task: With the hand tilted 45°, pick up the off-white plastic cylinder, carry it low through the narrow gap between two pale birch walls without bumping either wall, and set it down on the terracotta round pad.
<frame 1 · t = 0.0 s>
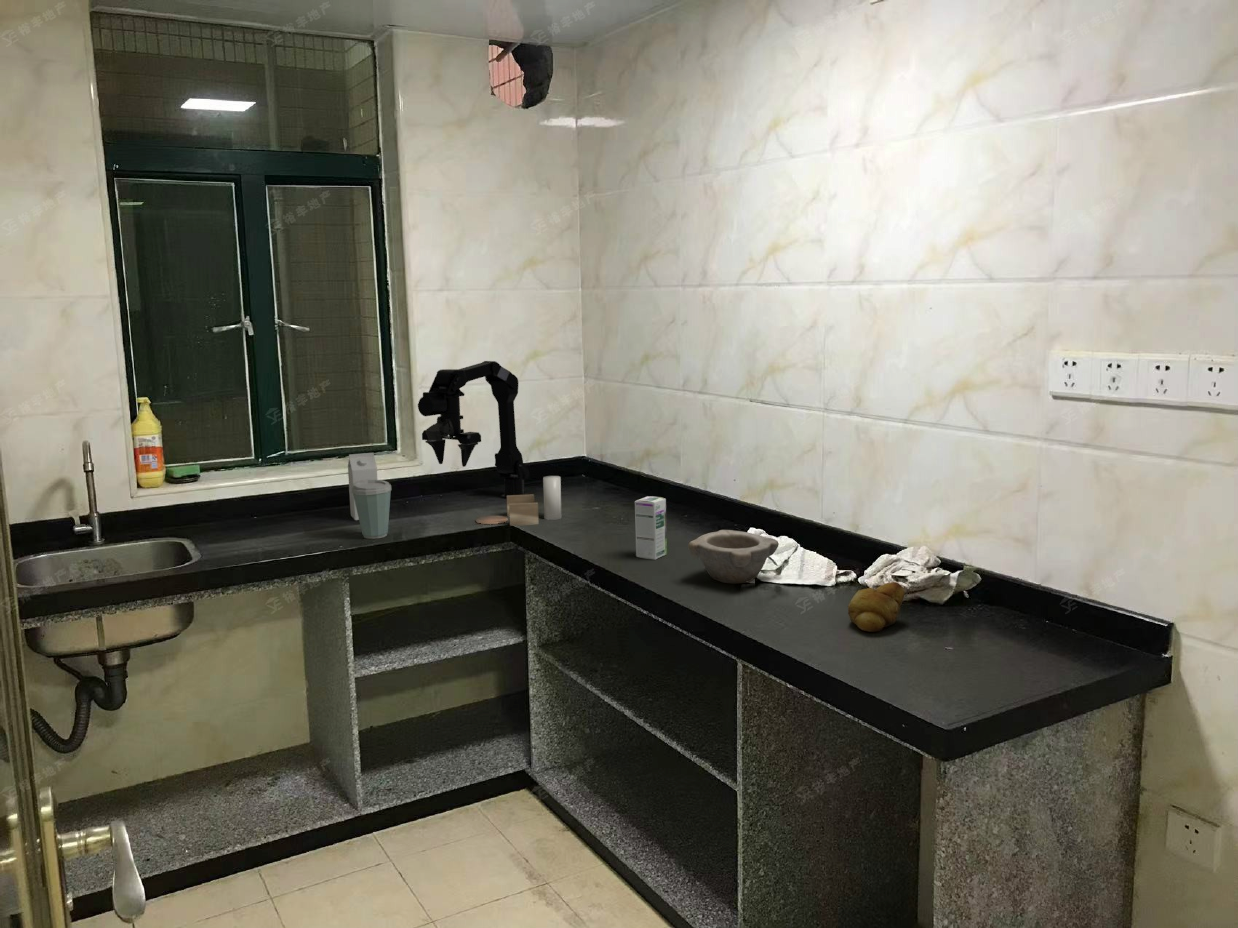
hand: (452, 465, 289), 15 cm above the worktop, tool pointing down, fingers open, 9 cm apart
outer gate wall: (524, 524, 277), on the worktop
disposable coffee cup: (374, 537, 265), on the worktop
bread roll: (871, 625, 191), on the worktop
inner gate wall: (521, 515, 288), on the worktop
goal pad: (492, 521, 281), on the worktop
mortar: (732, 579, 222), on the worktop
white cylinder: (552, 517, 284), on the worktop
syrup box: (651, 556, 242), on the worktop
milk carton: (365, 517, 288), on the worktop
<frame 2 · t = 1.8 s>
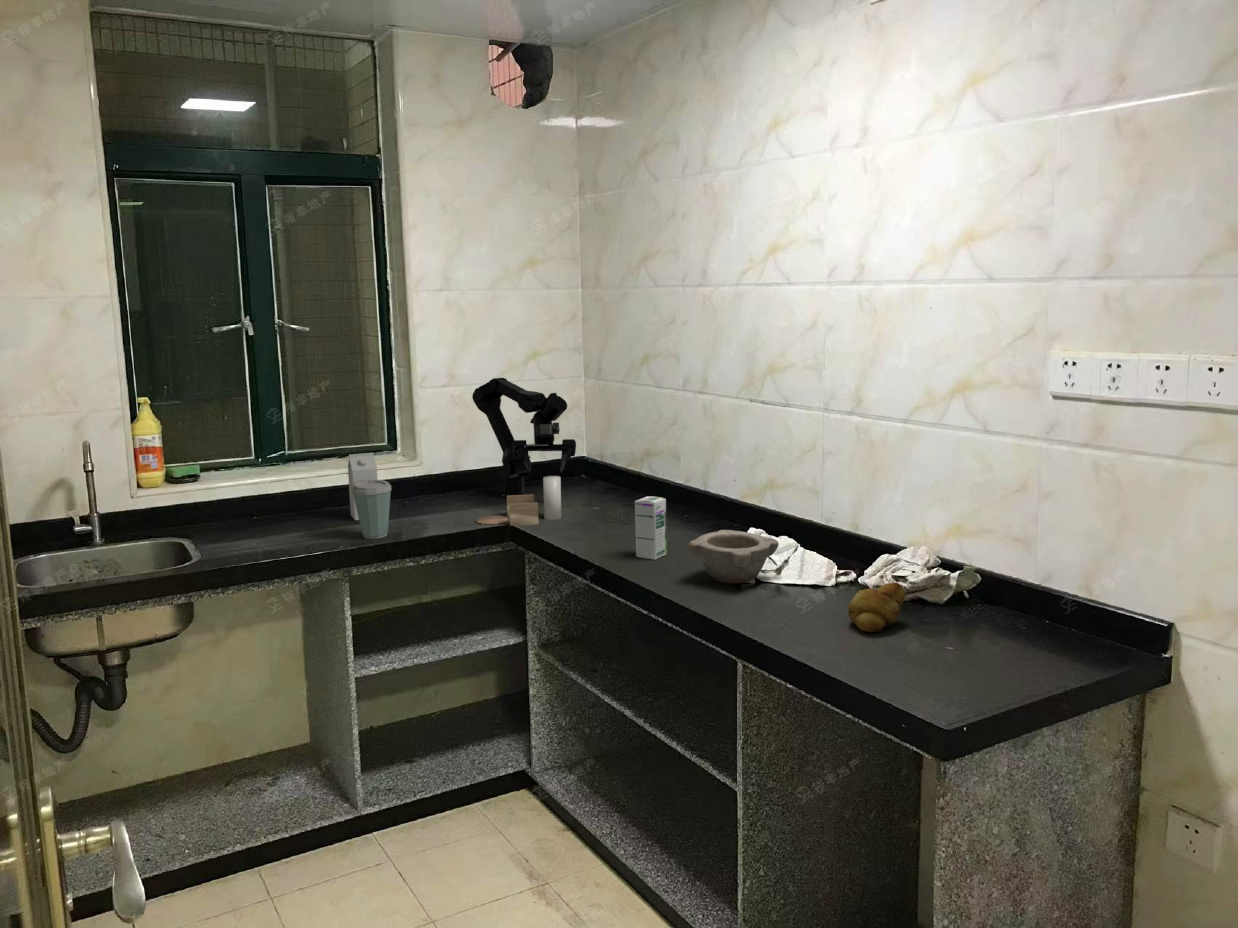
hand: (545, 471, 289), 12 cm above the worktop, tool tilted 45°, fingers open, 9 cm apart
nothing on the worktop moved.
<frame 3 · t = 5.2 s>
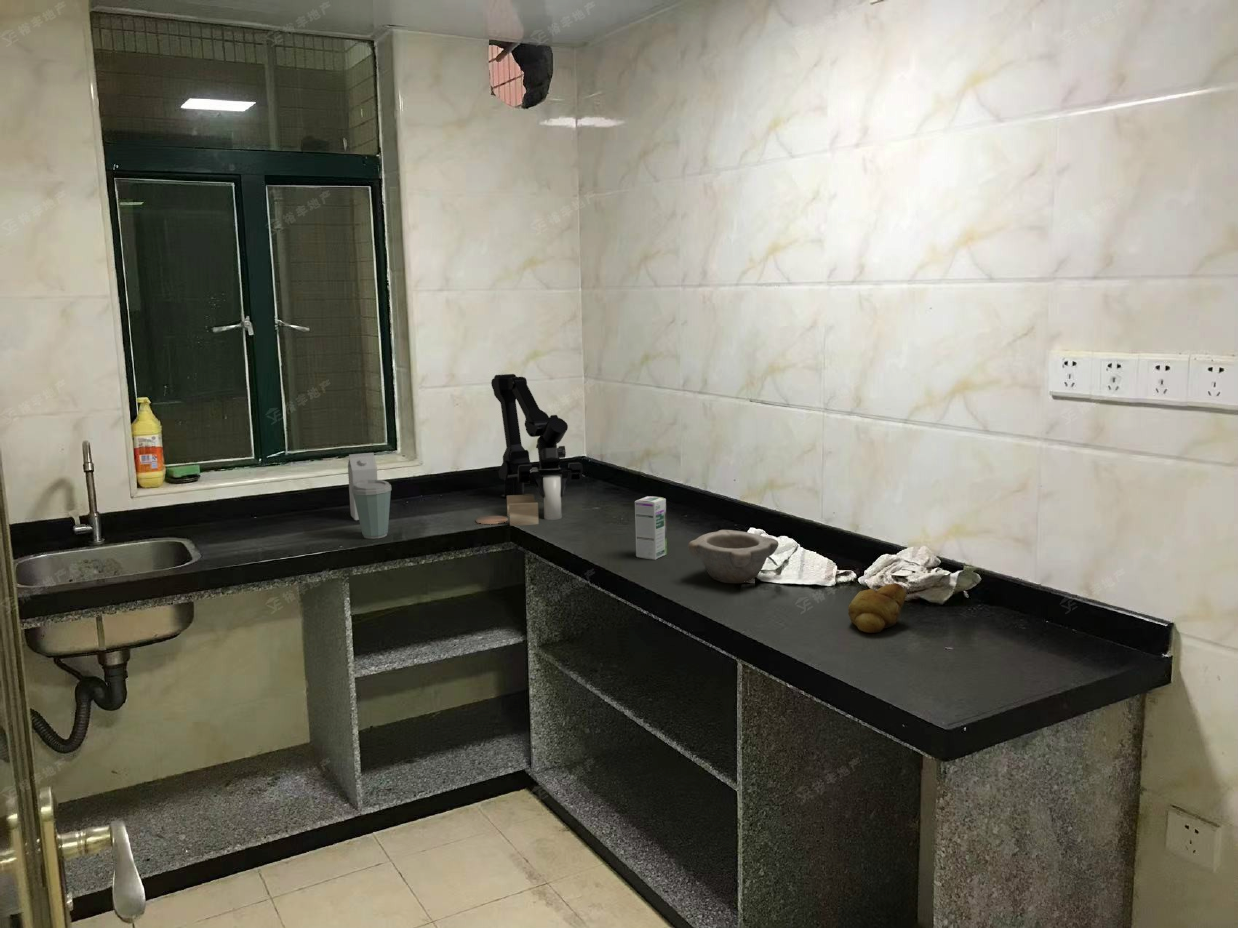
hand: (552, 496, 282), 7 cm above the worktop, tool tilted 45°, fingers closed on white cylinder, 5 cm apart
white cylinder: (552, 517, 284), on the worktop, touching gripper
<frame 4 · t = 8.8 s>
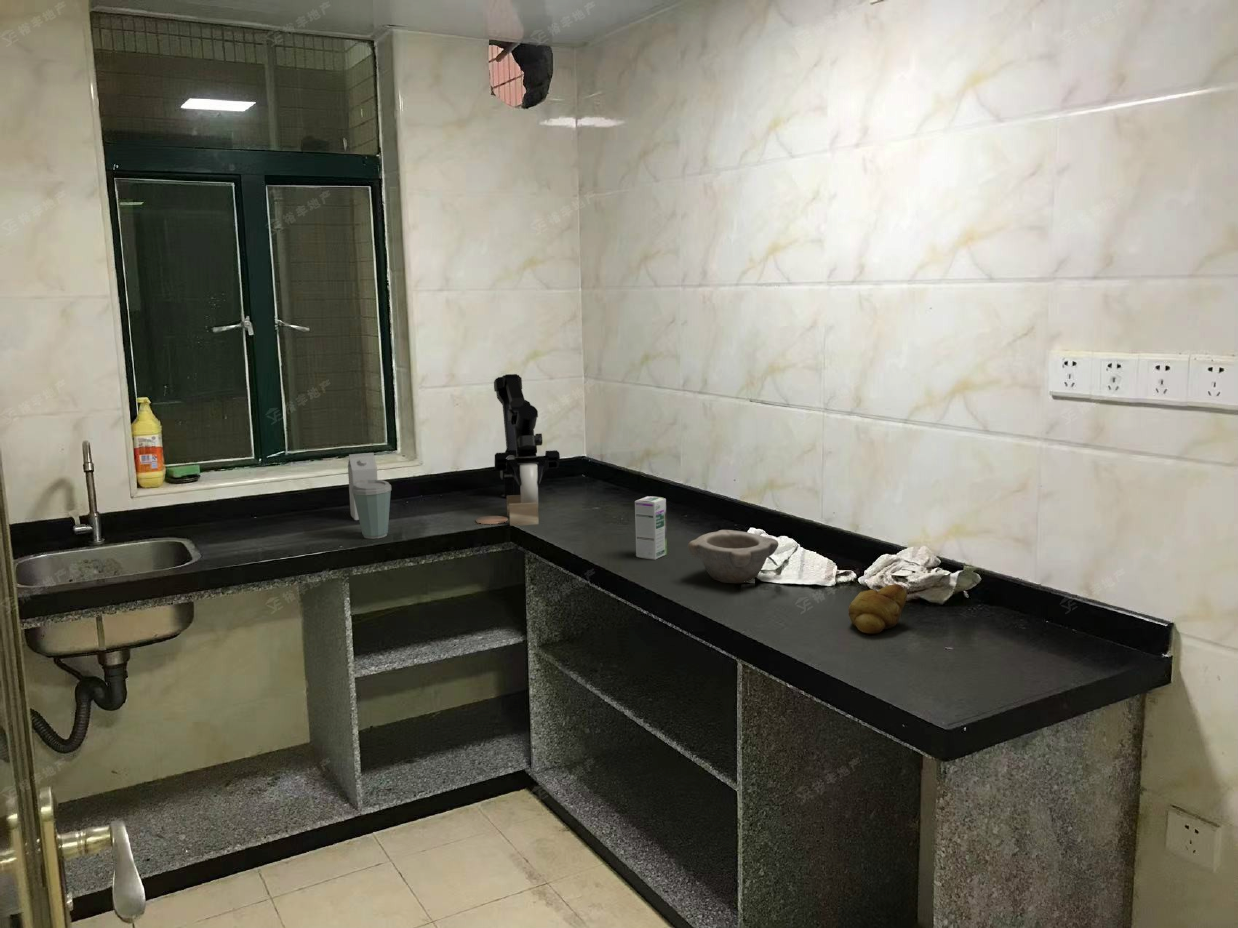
hand: (529, 484, 280), 10 cm above the worktop, tool tilted 45°, fingers closed on white cylinder, 5 cm apart
white cylinder: (529, 505, 283), point 4 cm above the worktop, touching gripper
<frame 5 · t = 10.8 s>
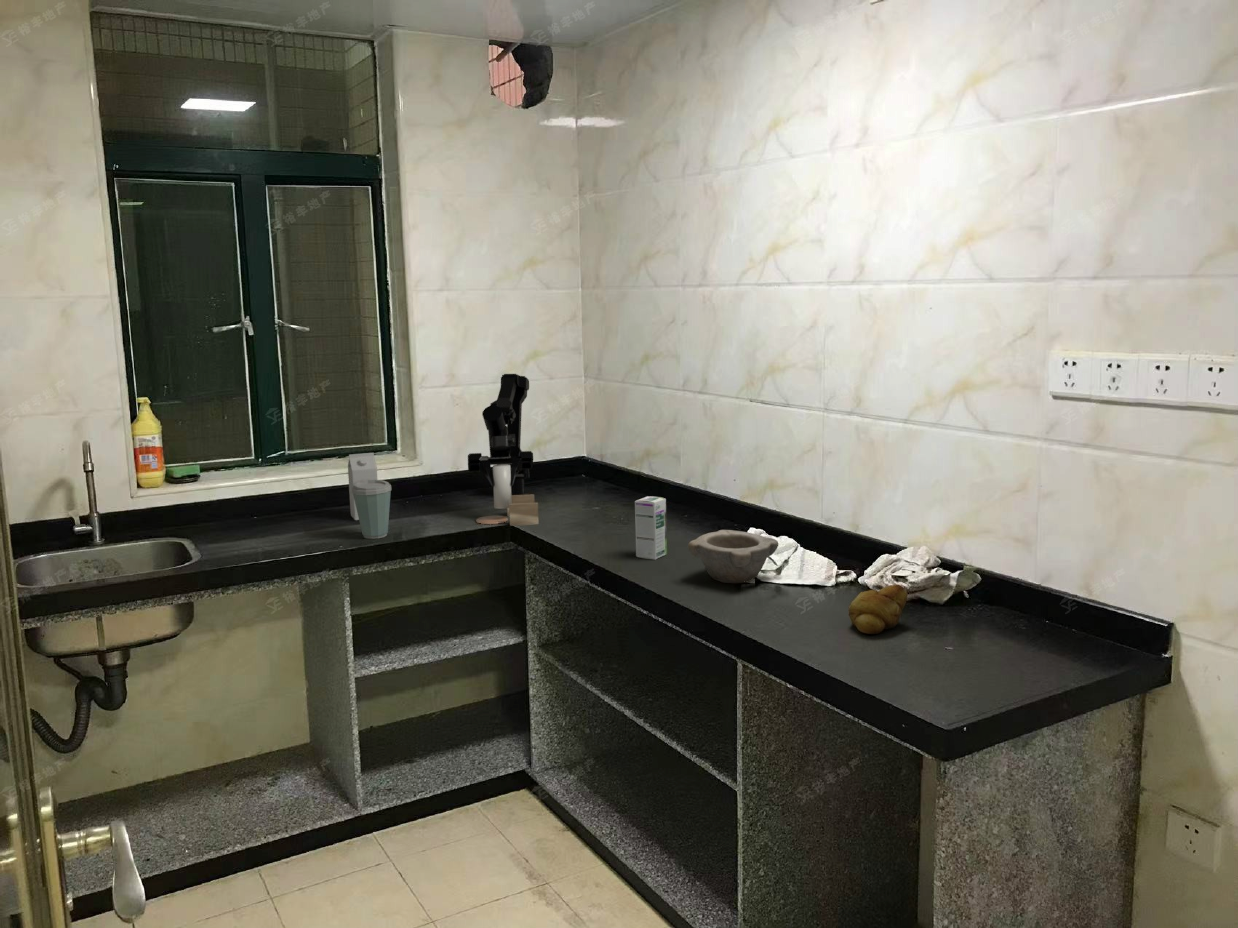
hand: (502, 485, 279), 11 cm above the worktop, tool tilted 45°, fingers closed on white cylinder, 5 cm apart
white cylinder: (503, 506, 281), point 4 cm above the worktop, touching gripper
when the fingers open (8 cm above the worktop, at t = 12.7 s): white cylinder drops 1 cm, resting on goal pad.
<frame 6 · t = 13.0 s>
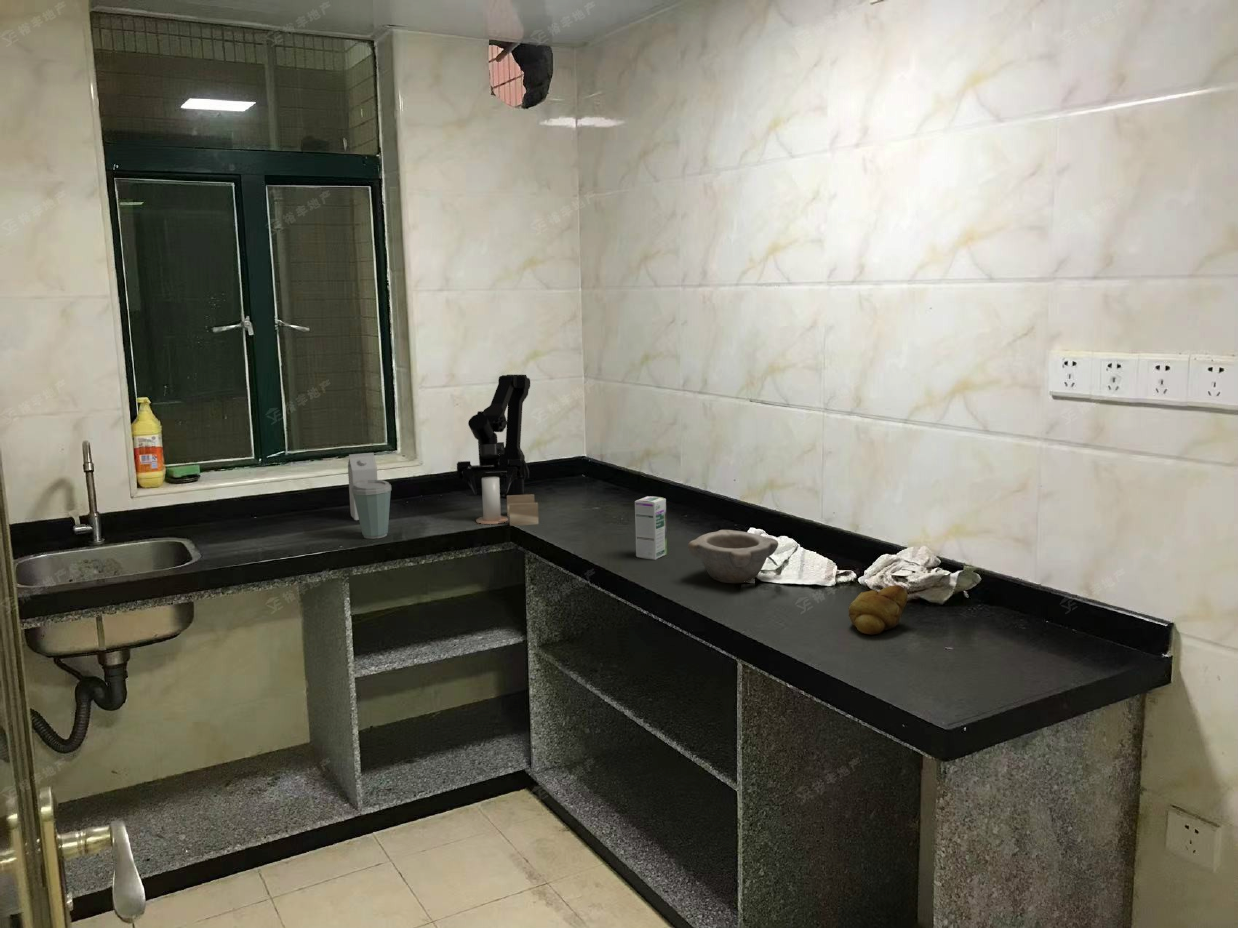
hand: (491, 493, 279), 8 cm above the worktop, tool tilted 45°, fingers open, 8 cm apart
white cylinder: (492, 519, 281), point 1 cm above the worktop, touching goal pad
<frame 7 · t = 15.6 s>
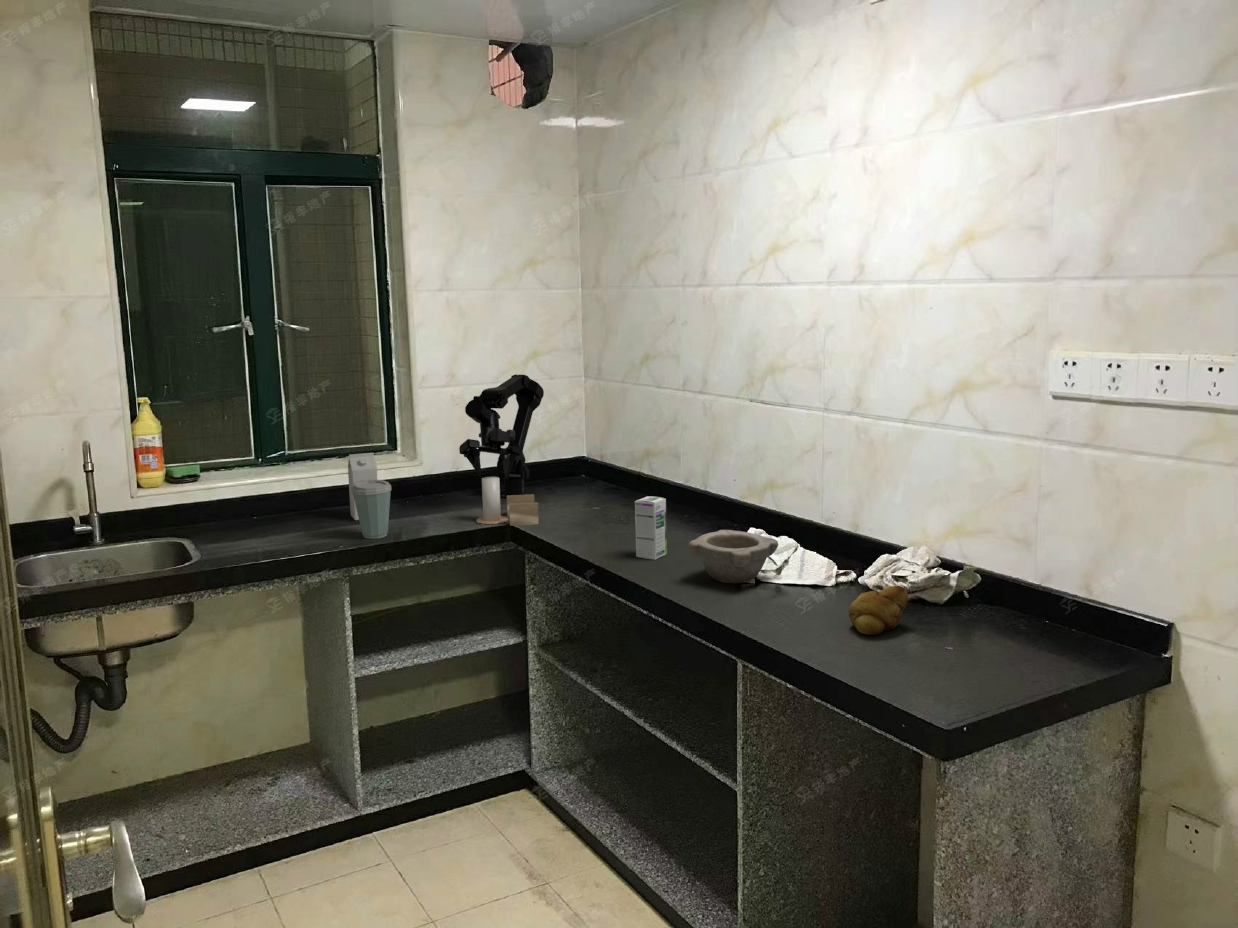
hand: (493, 476, 289), 11 cm above the worktop, tool tilted 30°, fingers open, 9 cm apart
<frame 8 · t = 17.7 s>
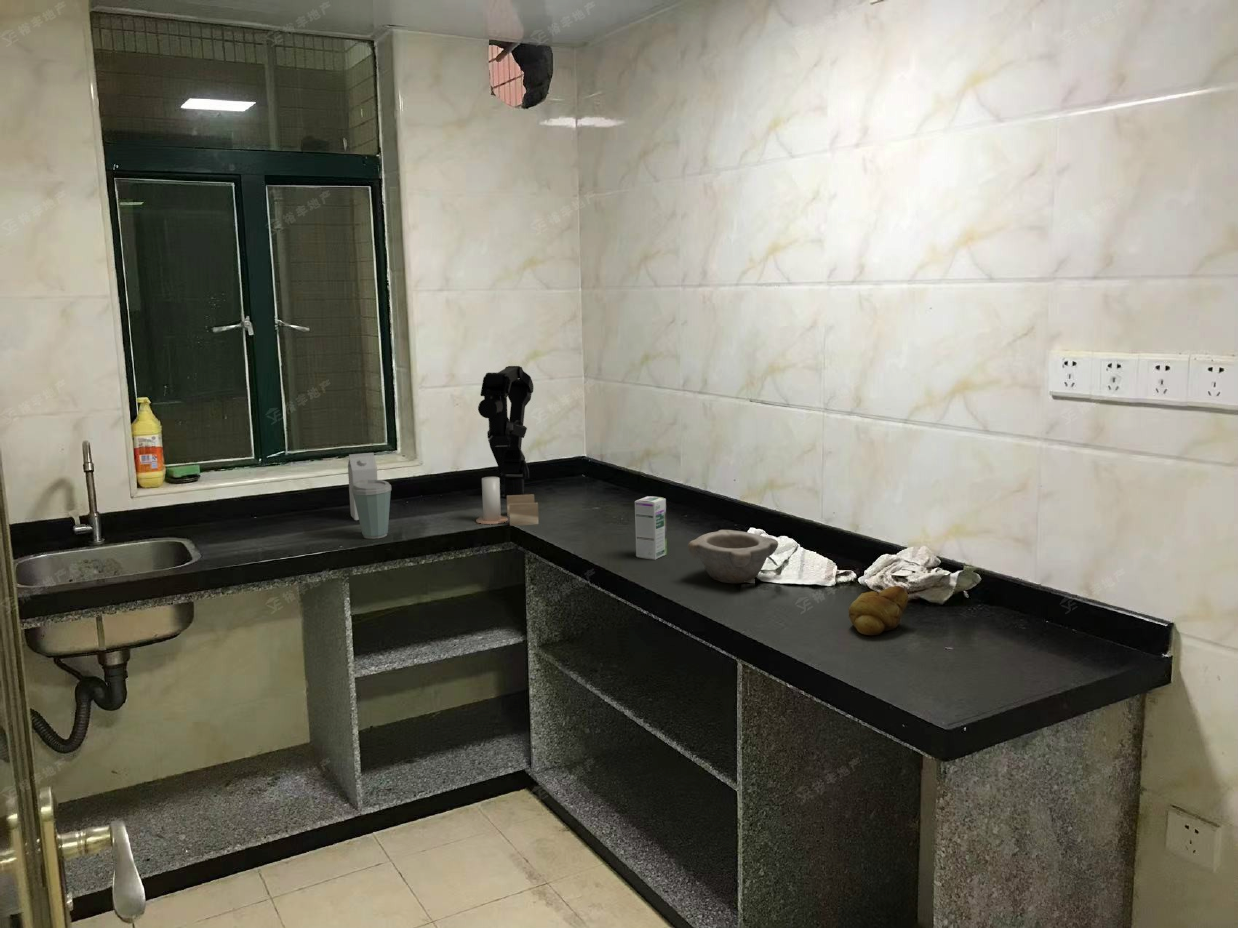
hand: (499, 465, 298), 13 cm above the worktop, tool pointing down, fingers open, 9 cm apart
at the end: white cylinder 0.0 cm off-centre on the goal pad, point 0.5 cm above the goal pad's base; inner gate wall moved 0.1 cm from its start; outer gate wall moved 0.1 cm from its start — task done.
